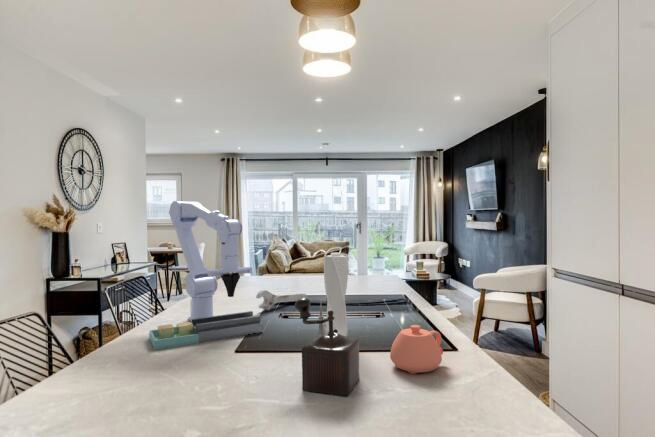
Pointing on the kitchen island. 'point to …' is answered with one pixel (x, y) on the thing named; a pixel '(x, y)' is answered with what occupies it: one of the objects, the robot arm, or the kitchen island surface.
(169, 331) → the chip
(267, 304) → the wrench
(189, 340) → the tray
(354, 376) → the brown manual coffee grinder
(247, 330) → the slot block
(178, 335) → the wooden cube
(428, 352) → the sugar bowl
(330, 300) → the skyscraper
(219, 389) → the kitchen island surface
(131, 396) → the kitchen island surface
